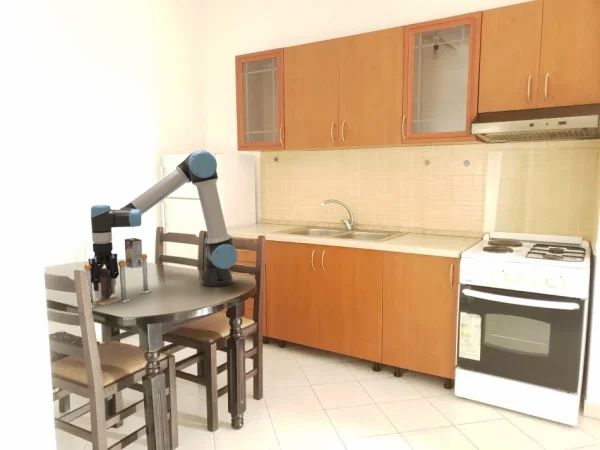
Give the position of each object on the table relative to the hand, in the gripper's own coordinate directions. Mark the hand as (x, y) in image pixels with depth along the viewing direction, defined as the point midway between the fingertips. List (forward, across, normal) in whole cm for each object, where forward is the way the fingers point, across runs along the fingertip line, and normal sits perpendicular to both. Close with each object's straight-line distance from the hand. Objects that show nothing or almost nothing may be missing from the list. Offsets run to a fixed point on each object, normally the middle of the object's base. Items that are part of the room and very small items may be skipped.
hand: (105, 295), depth 185 cm
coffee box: (+3, -63, -40) cm, 75 cm away
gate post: (+3, -18, +6) cm, 19 cm away
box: (+1, 0, 0) cm, 1 cm away
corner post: (+3, -4, +6) cm, 8 cm away
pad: (+2, 0, 0) cm, 2 cm away
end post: (+2, +8, 0) cm, 8 cm away
